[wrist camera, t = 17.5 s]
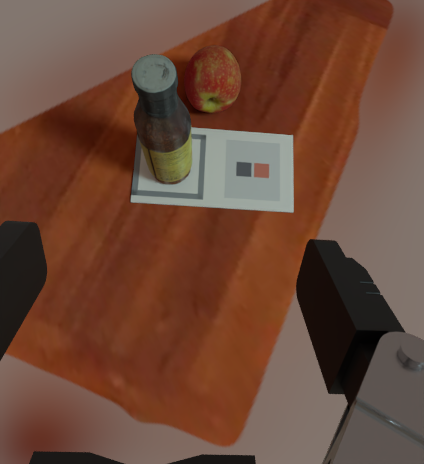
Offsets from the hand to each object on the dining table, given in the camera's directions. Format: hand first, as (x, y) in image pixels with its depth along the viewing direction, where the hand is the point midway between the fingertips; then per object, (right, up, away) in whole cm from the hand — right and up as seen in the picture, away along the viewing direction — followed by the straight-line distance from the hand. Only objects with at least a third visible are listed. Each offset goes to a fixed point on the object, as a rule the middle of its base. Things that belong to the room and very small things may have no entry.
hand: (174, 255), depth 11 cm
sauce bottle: (-5, +10, +40) cm, 41 cm away
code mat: (+2, +10, +40) cm, 41 cm away
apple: (+1, +21, +43) cm, 48 cm away
